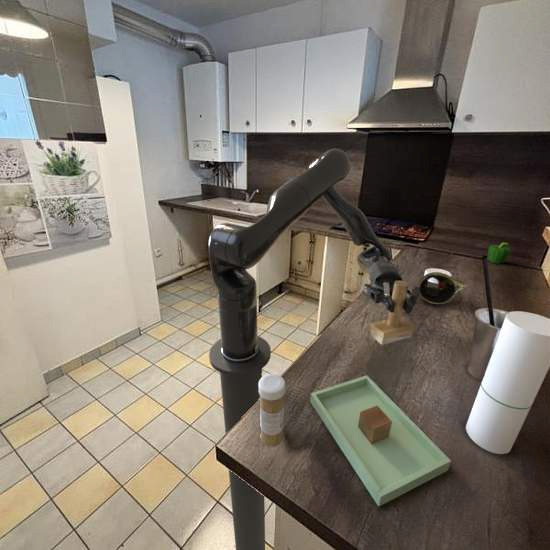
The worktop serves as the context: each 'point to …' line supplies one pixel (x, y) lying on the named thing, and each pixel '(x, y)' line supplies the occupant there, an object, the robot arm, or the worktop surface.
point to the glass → (485, 331)
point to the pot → (444, 282)
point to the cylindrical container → (510, 381)
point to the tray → (383, 454)
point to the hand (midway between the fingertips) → (400, 309)
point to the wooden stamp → (394, 319)
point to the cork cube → (374, 424)
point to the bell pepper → (498, 253)
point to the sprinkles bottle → (271, 409)
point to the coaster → (436, 271)
